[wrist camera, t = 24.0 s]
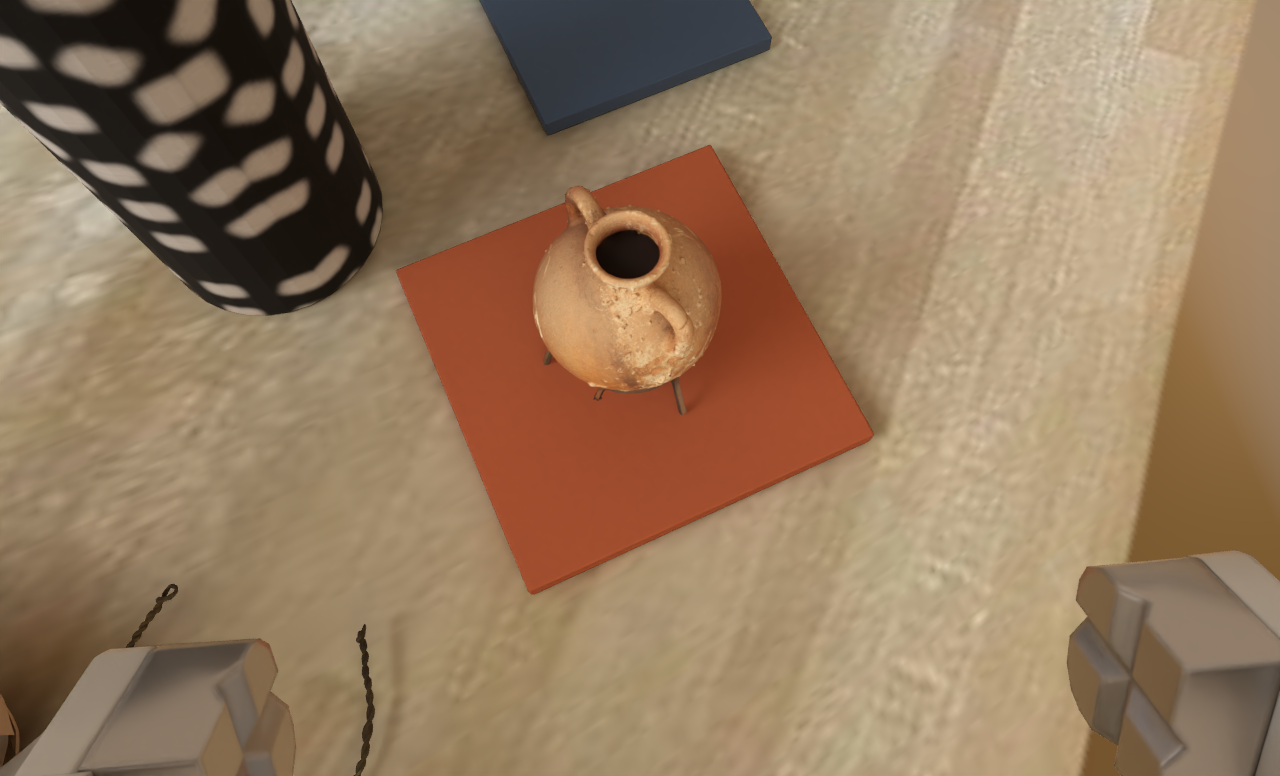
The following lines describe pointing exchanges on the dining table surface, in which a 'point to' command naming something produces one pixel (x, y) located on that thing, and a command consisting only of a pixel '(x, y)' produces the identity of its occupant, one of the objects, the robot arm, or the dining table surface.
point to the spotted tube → (201, 138)
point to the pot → (625, 297)
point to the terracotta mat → (638, 422)
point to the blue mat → (618, 49)
